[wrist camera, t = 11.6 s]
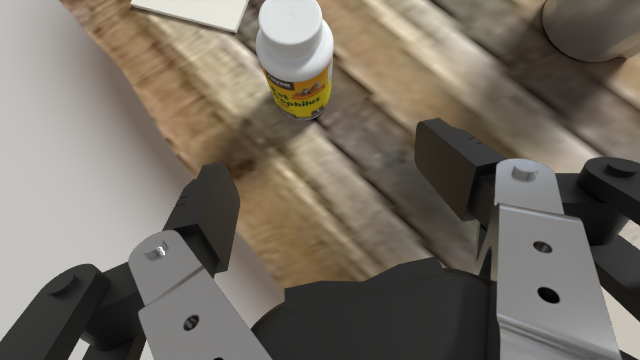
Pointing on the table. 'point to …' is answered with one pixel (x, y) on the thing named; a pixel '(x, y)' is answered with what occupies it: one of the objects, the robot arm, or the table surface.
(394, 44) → the table surface
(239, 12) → the white square tile
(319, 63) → the supplement bottle
